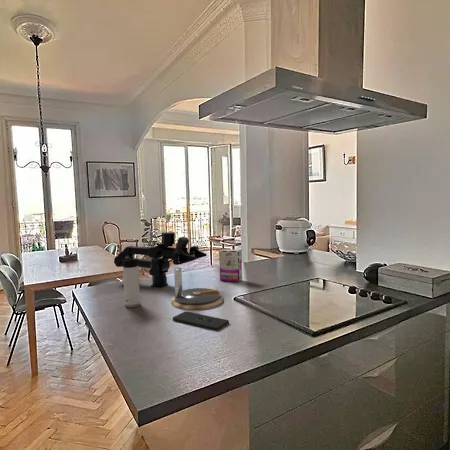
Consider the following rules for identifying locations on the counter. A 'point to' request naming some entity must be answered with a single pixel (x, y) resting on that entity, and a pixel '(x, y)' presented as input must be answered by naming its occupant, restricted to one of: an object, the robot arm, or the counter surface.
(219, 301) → the oak stand
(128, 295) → the travel mug
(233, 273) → the candy bar box
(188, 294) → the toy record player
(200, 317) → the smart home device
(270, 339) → the counter surface
